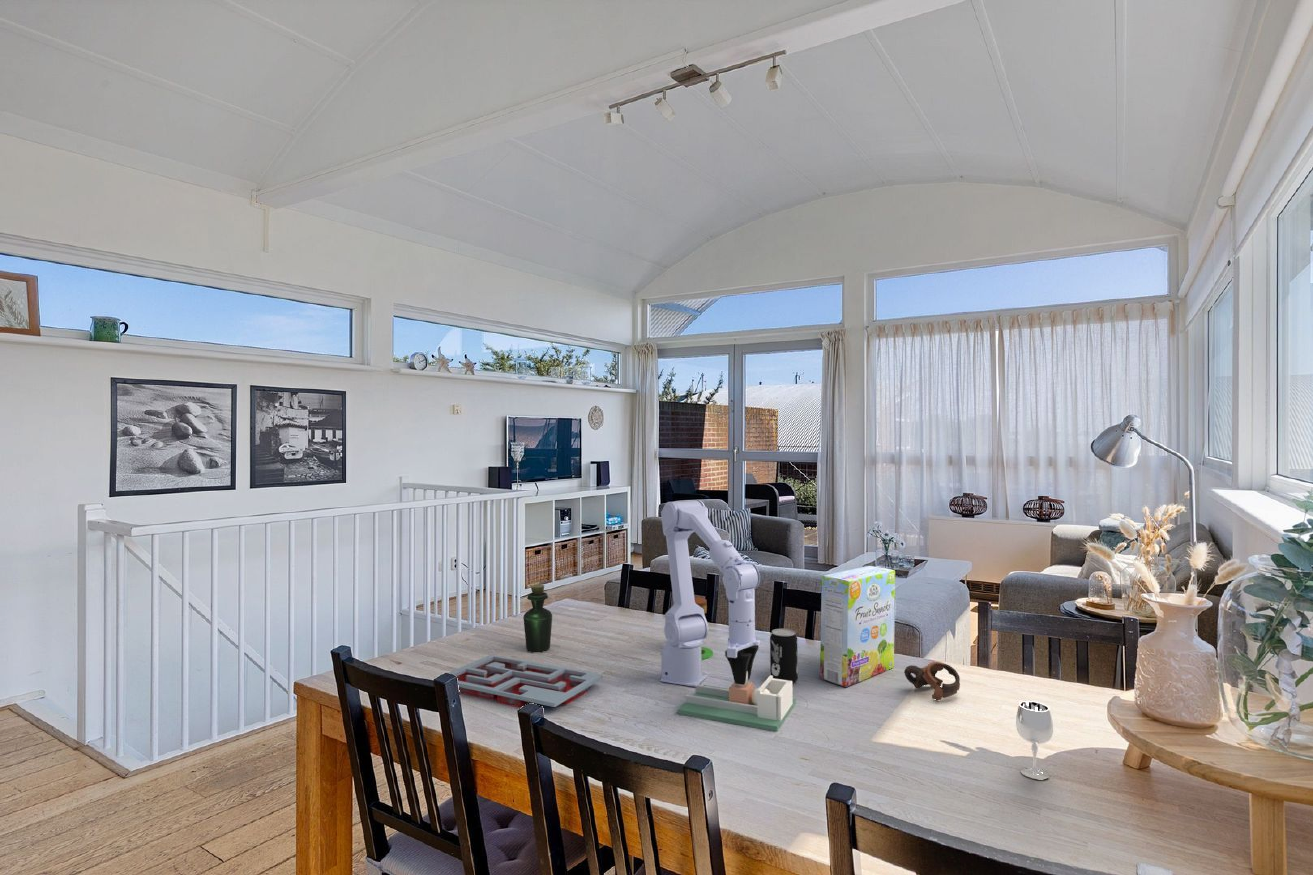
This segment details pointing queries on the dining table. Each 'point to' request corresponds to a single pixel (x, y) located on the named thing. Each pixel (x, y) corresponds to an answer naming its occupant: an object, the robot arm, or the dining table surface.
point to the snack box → (857, 624)
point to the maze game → (523, 681)
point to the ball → (754, 695)
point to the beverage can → (784, 655)
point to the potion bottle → (537, 621)
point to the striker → (741, 692)
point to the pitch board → (725, 709)
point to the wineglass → (1034, 727)
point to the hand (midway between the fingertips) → (742, 681)
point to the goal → (774, 699)
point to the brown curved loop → (933, 679)
